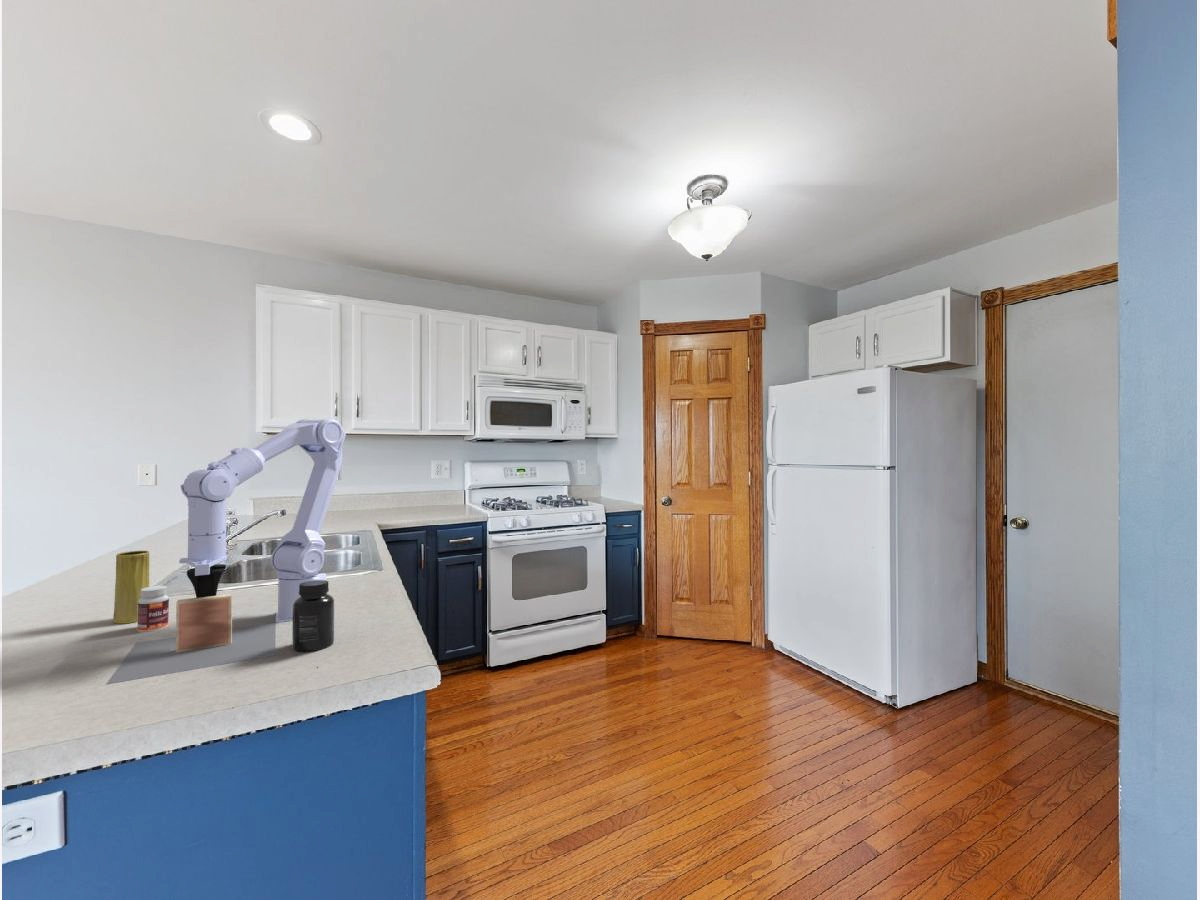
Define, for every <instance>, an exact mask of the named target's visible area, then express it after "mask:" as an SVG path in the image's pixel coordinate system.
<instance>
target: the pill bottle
mask: <svg viewBox="0 0 1200 900" xmlns="http://www.w3.org/2000/svg"><path fill="white" fill-rule="evenodd" d="M167 589H168V588H167V586H165V585H153V586H149V587H147V588H143V589H141V593H140V596H141V597H142V598H141V599H140V600H139V601H138V622H137V632H140V633H141V632H145V633H146V632H147V633H148V632H154V631H159V630H162V629H165V628H167V627H168V626H169V612H170V611H169V609H170V605H169V604H170V598H169V596H168V595H167V592H168V590H167Z"/></svg>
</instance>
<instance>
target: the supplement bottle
mask: <svg viewBox="0 0 1200 900" xmlns="http://www.w3.org/2000/svg"><path fill="white" fill-rule="evenodd" d="M326 580H327V579H326ZM326 580H315V581H308V582H304V583H301V584H300V585H299V595H300V598H298V599H297V600H296V601H295V602H294V604H293V620H292V624H291V625H292V627H291V628H292V631H291V632H292V637H291V639H292V641H291V643H292V645H291V646H292V651H294V652H297V653H311V652H313V653H314V652H317V651H323V650H325V649H327V648H330V647H332V646H333V645H334V643H335V599H334V596H332V595H331V594H329V593H328V592H329V591H330V588H329V581H328V580H327V581H326Z"/></svg>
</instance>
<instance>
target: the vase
mask: <svg viewBox="0 0 1200 900" xmlns="http://www.w3.org/2000/svg"><path fill="white" fill-rule="evenodd" d="M114 585H115V586H114V602H113V603H114V606H113V617H112V621H111V622H112V623H113V624H116V625H123V624H124V625H126V624H134V623H138V601H139V600H140V599H141V598H142V597H141V596H140V593H141V589H143V588H147V587H150V551H149V550H132V551H124V552H120V553H119V552H118V553H116V556H115V584H114Z"/></svg>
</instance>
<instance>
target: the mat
mask: <svg viewBox="0 0 1200 900" xmlns="http://www.w3.org/2000/svg"><path fill="white" fill-rule="evenodd" d="M276 627H277V623H276V622H272V623H263V624H258V625H256V624H255V625H251V626H241V627H236V628H235V627H234V628H232V642H231V644H229V645H222V646H216V647H209V648H203V649H197V650H190V651H184V652H177V653H176V636H172V637H167V638H159V639H151V640H145V641H139V642H135V643H134V645H133V647H132V648H131V649H130V651H129V653H127V655H126V656H125V658H124V659H123V661H121V663H120V665H119V666H118V667H117V669H116V670H115V672H114V673H113V675H112V676H111V677H110V678H109V680H108V681H107V682H106V685H112V684H118V683H123V682H129V681H135V680H141V679H146V678H152V677H158V676H159V677H160V676H163V675H169V674H171V675H172V674H175V673H182V672H187V671H193V670H199V669H204V668H209V667H210V668H212V667H215V666H216V667H217V666H223V665H227V664H228V665H229V664H235V663H239V662H246V661H252V660H257V659H263V658H268V657H273V656H276V631H277V630H276Z"/></svg>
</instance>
